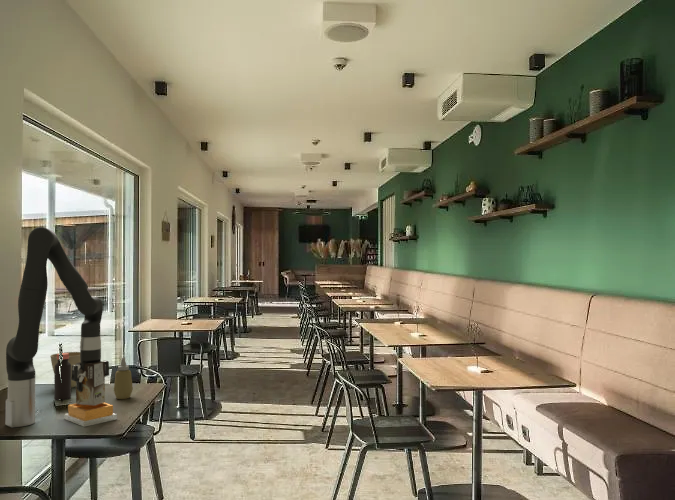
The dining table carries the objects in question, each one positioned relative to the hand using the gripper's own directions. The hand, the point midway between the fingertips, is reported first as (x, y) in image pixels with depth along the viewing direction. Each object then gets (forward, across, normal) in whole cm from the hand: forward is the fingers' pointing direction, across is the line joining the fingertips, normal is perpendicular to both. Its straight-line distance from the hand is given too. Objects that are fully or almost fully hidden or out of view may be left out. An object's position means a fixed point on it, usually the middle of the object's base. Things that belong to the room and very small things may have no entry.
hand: (90, 389), depth 225 cm
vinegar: (+12, +8, +42) cm, 44 cm away
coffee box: (+6, 0, 0) cm, 6 cm away
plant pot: (+12, +20, +64) cm, 68 cm away
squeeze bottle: (+12, +26, +22) cm, 36 cm away
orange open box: (+12, 0, 0) cm, 12 cm away
